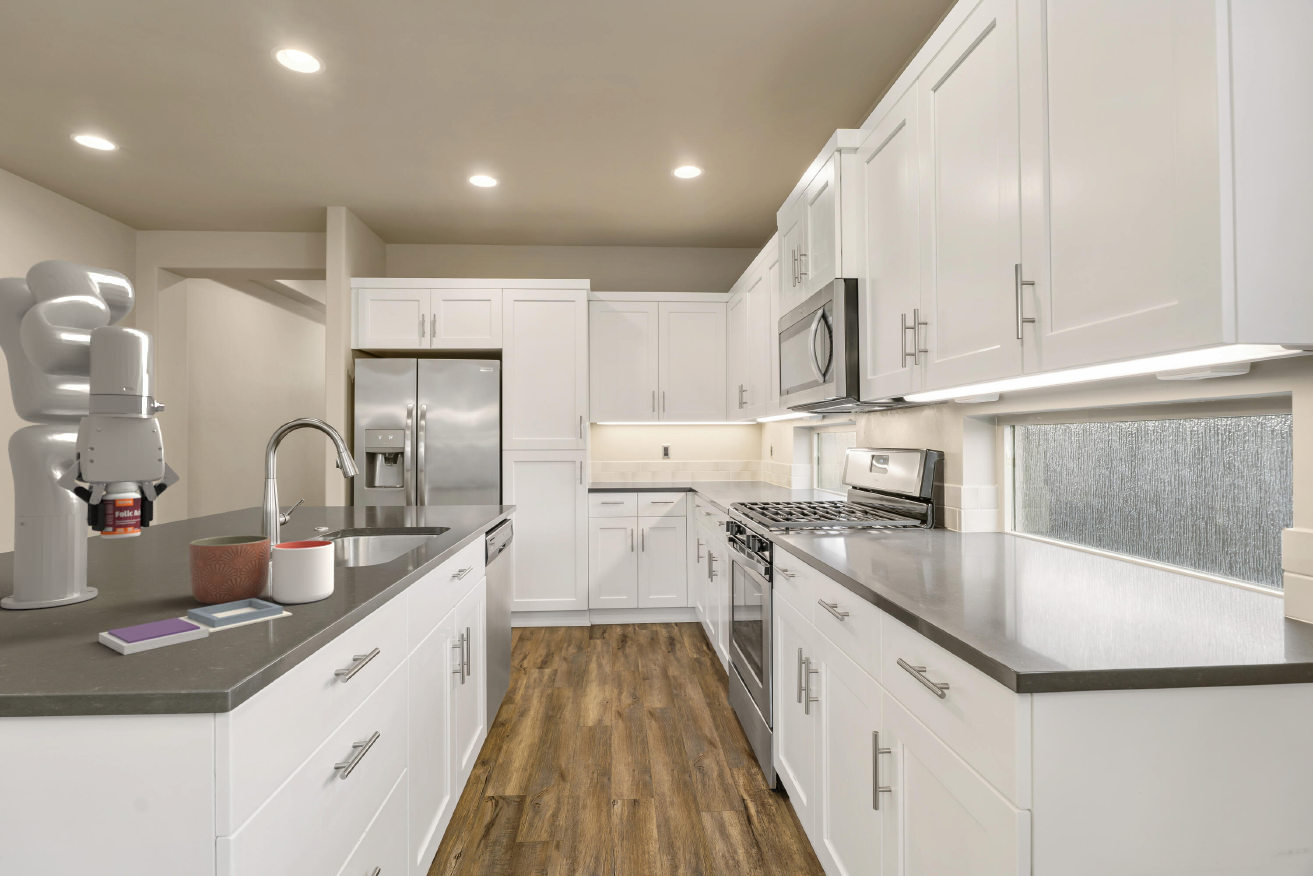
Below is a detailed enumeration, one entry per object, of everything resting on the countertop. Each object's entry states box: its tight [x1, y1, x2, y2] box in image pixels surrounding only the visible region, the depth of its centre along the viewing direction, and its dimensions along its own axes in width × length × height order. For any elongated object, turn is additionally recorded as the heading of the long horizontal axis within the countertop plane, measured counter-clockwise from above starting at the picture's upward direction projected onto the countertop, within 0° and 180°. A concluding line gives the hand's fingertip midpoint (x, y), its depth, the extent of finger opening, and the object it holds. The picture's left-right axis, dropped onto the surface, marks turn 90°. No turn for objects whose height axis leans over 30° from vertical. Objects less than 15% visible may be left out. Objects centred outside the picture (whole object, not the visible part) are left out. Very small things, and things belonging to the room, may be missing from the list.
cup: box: [271, 539, 335, 605], centre depth 118 cm, size 10×10×10 cm
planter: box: [188, 534, 271, 605], centre depth 117 cm, size 12×12×11 cm
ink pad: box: [98, 617, 210, 656], centre depth 93 cm, size 10×10×2 cm
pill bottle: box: [99, 482, 142, 540], centre depth 97 cm, size 5×5×8 cm
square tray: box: [179, 597, 293, 634], centre depth 105 cm, size 12×12×2 cm
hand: (121, 527), depth 97 cm, fingers closed on pill bottle, 4 cm apart
